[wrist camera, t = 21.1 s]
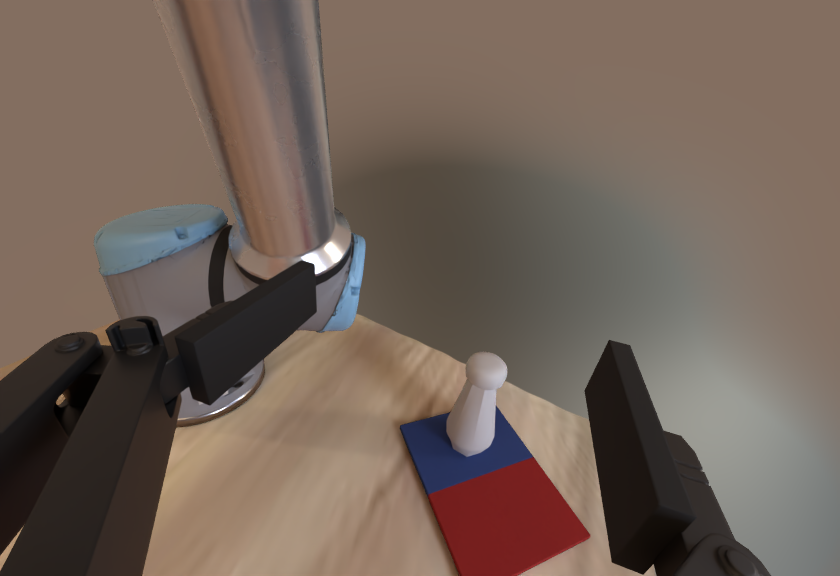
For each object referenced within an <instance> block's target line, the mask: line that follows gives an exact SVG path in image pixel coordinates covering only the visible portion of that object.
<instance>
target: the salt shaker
mask: <svg viewBox="0 0 840 576" xmlns="http://www.w3.org/2000/svg"><path fill="white" fill-rule="evenodd" d="M506 376H507V367H506V364H505V363H504V362H503V361H502V359H501V358H500V357H498V356H496V355H495V354H492V353H489V352H478V353H475V354H473V355H471V357H470V358H469V359H468V361H467V363H466V377H467V378H468V379H467V381H466V383H465V385H464V387H463V389H462V391H461V393H460V395H459V397H458V399H457V401H456V402H455V404H454V406H453V408H452V410H451V412H450V414H449V416H448V418H447V429H446V432H447V434H448V436H449V438H450V440H451V443H452V446H453V449H454V450H456V451H458V452H459V453H461V454H463V455H465V456H466V457H468V456H472V455H475V454H478V453H481V452H482V451H484V450H485V449H487V448H488V447H489V446H490V445H491V443H492V441H493V438H494V435H495V411H496V389H498V388H500V387H501V386H502V385H503V383H504V381H505V379H506Z"/></svg>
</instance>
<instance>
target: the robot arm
mask: <svg viewBox="0 0 840 576" xmlns="http://www.w3.org/2000/svg"><path fill="white" fill-rule="evenodd" d="M153 2H154V4H155V7H156V9H157V12H158V15H159V17H160V20H161V23H162V25H163V28H164V30H165V33H166V35H167V38H168V41H169V44H170V46H171V49H172V51H173V54H174V57H175V59H176V62H177V64H178V67H179V69H180V72H181V75H182V77H183V80H184V83H185V85H186V88H187V91H188V93H189V96H190V98H191V101H192V104H193V106H194V109H195V112H196V114H197V117H198V119H199V122H200V125H201V127H202V129H203V132H204V135H205V138H206V140H207V143H208V145H209V148H210V151H211V153H212V156H213V158H214V161H215V164H216V166H217V169H218V172H219V174H220V177H221V179H222V182H223V185H224V187H225V190H226V192H227V195H228V197H229V200H230V203H231V206H232V208H233V211H234V213H235V216H236V219H237V220H236V221H235V223H234V224H233V226H232V225H228V224H227V222H228V218H227V217H226V215H225V214H224V212H223V211H222V209H220V208H218V207H214V206H211V205H203V204H202V205H201V204H188V205H176V206H167V207H160V208H154V209H149V210H145V211H141V212H136V213H133V214H129V215H126V216H123V217H121V218H118V219H116V220H114V221H111V222H109V223H108V224H106V225H104V226H103V227H102V228H101V229H100V230H99V231H98V232H97V233H96V235H95V238H94V246H95V250H96V254H97V257H98V261H99V264H100V269H99V272H100V273H101V275H102V276H103V279H104V281H105V284H106V286H107V289H108V291H109V294H110V296H111V299H112V301H113V304H114V306H115V309H116V311H117V313H118V316H119V319H120V321H118V322H116V323H114V324H112V325H110V326H109V327H108V328H107V329H106V330H105V331H106V333H107V336H108V338H109V341H110V343H111V345H112V346H105V345H101V344H100V342H99V340H98V337H97V335H95V334H93V333H90V332H77V333H70V334H66V335H63V336H61V337H58V338H56V339H54V340H52V341H50V342H49V343H47V344H46V345H44V346H43V347H42V348H40V349H39V350H38V351H37V352H35V353H34V354H33V355H32V356H31V357H29V358H28V359H27V360H26V361H24V362H23V363H22V364H21V365H19V366H18V367H17V368H16V369H14V370H13V371H12V372H11V373H9V374H8V375H7V376H6V377H4V378H3V379H2V380H1V381H0V555H1V554H2V553H3V551H4V550H5V549H6V547H7V546H8V545H9V544H10V542H11V541H12V540H13V538H14V537H15V536H16V535H17V533H18V532H19V531H20V529H21V528H22V527H23V526H24V527H23V529H22V531H21V533H20V534H19V536H18V538H17V540H16V542H15V544H14V546H13V548H12V550H11V552H10V554H9V556H8V558H7V560H6V562H5V563H4V565H3V567H2V569H1V571H0V576H142V574H143V569H144V565H145V560H146V556H147V552H148V547H149V543H150V538H151V534H152V530H153V525H154V521H155V517H156V512H157V508H158V503H159V499H160V495H161V490H162V486H163V481H164V477H165V473H166V468H167V464H168V459H169V455H170V451H171V446H172V442H173V438H174V433H175V429H176V427H183V426H190V425H196V424H200V423H204V422H207V421H210V420H213V419H216V418H218V417H220V416H223V415H225V414H227V413H229V412H230V411H232V410H234V409H236V408H237V407H239V406H240V405H241V404H243V403H244V402H245V401H247V400H248V399H249V398H250V397H251V396H252V395H253V394H254V393H255V391H256V390H257V389H258V387H259V386H260V384H261V382H262V380H263V377H264V373H265V366H264V358H265V357H266V356H267V355H269V354H270V353H271V352H272V351H273V350H274V349H275V348H277V347H278V346H279V345H280V344H281V343H282V342H283V341H285V340H286V339H287V338H288V337H289V336H290V335H291V334H293V333H294V332H295V331H296V330H308V331H316V332H319V333H322V332H325V331H343V330H346V329H348V328H349V327H350V326H351V325H352V324H353V322H354V319H355V316H356V312H357V307H358V301H359V294H360V291H359V290H360V287H361V282H362V275H363V267H364V257H365V240H364V238H363V237H362V236H359V235H356V234H355V233H351V231H350V226H349V223H348V221H347V219H346V218H345V217H344V216H343V214H342V213H341V212H340V211H339V210H337V209H336V208H335V207H334V200H333V187H332V175H331V161H330V148H329V134H328V122H327V108H326V96H325V82H324V69H323V57H322V43H321V30H320V17H319V3H318V0H153ZM62 393H63V395H64V397H65V400H64V401H63V402H62V403H61V404H60V405H59V406H58V405H57V404H56V403H55V402H56V401H57V399H58V398H59V396H60V395H61V394H62ZM585 396H586V403H587V408H588V415H589V421H590V428H591V434H592V440H593V447H594V453H595V459H596V465H597V472H598V478H599V484H600V490H601V497H602V503H603V509H604V515H605V522H606V528H607V534H608V541H609V547H610V553H611V559H612V563H615V564H617V565H620V566H622V567H625V568H627V569H630V570H633V571H635V572H638V573H640V574H644V573H645V572H646V571H647V570H648V569H649V568H650V567H651V566H652V565H653V564H654V567H655V571H656V575H657V576H771V575H770V574H769V572H768V571H767V569H766V568H765V567H764V565H763V564H762V562H761V561H760V560H759V559H758V558H757V557H756V556H755V555H753V554H752V552H751V551H749V549H747V548H746V547H744V546H743V545H741V544H740V543H739V542H737V541H736V540H735V538H734V536H733V534H732V532H731V530H730V528H729V525H728V523H727V521H726V519H725V517H724V515H723V512H722V510H721V508H720V506H719V503H718V501H717V499H716V497H715V495H714V493H713V490H712V488H711V486H709V482H708V480H707V477H706V475H705V473H704V472H702V467H701V464H700V462H699V460H698V458H697V456H696V453H695V452H694V451H693V449H692V448H691V447H690V446H689V445H688V443H687V442H686V441H685V440H684V439H683V438H682V436H679V435H676V434H673V433H670V432H666V431H663V429H662V426H661V424H660V421H659V419H658V416H657V413H656V411H655V408H654V406H653V403H652V401H651V398H650V395H649V393H648V390H647V388H646V385H645V383H644V380H643V377H642V375H641V372H640V370H639V367H638V364H637V362H636V359H635V357H634V354H633V352H632V349H631V346H630V345H627V344H623V343H619V342H615V341H611V340H609V341H608V343H607V345H606V348H605V349H604V352H603V354H602V356H601V358H600V360H599V362H598V364H597V366H596V368H595V370H594V372H593V375H592V376H591V379H590V380H589V383H588V385H587V387H586V389H585ZM24 524H25V525H24Z"/></svg>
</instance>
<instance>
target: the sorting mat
mask: <svg viewBox="0 0 840 576" xmlns="http://www.w3.org/2000/svg"><path fill="white" fill-rule="evenodd" d="M449 414H450V412H449V413H446V414H442V415H438V416H434V417H430V418H426V419H423V420H419V421H415V422H411V423H407V424H403V425H400V430H401V433H402V435H403V438H404V440H405V442H406V445H407V447H408V450H409V452H410V455H411V457H412V460H413V462H414V465H415V467H416V470H417V472H418V475H419V477H420V479H421V482H422V484H423V487H424V489H425V492H426V494H427V497H428V499H429V502H430V504H431V507H432V509H433V512H434V514H435V516H436V519H437V521H438V524H439V526H440V529H441V531H442V534H443V536H444V539H445V541H446V544H447V546H448V549H449V551H450V553H451V556H452V558H453V561H454V563H455V566H456V568H457V571H458V573H459V576H517V575H519V574H521V573H523V572H525V571H527V570H529V569H531V568H532V567H534V566H536V565H538V564H540V563H542V562H544V561H546V560H548V559H550V558H552V557H554V556H556V555H558V554H560V553H562V552H564V551H566V550H568V549H569V548H571V547H573V546H575V545H577V544H579V543H581V542H583V541H585V540H587V539H589V537H590V534H589V533H588V531H587V530H586V529H585V527H584V526H583V524H582V523H581V522H580V520H579V519H578V518H577V516H576V515H575V513H574V512H573V511H572V509H571V508H570V507H569V505H568V504H567V502H566V501H565V500H564V498H563V497H562V496H561V494H560V493H559V491H558V490H557V489H556V487H555V486H554V485H553V483H552V482H551V480H550V479H549V478H548V476H547V475H546V474H545V472H544V471H543V469H542V468H541V467H540V465H539V464H538V463H537V461H536V460H535V458H534V457H533V456H532V454H531V453H530V452H529V450H528V449H527V447H526V446H525V445H524V443H523V442H522V441H521V439H520V438H519V436H518V435H517V434H516V432H515V431H514V430H513V428H512V427H511V425H510V424H509V423H508V421H507V420H506V419H505V417H504V416H503V414H502V413H501V412H500V410H499V409H498V408H497V406H496V411H495V435H494V438H493V441H492V443H491V445H490V446H489V447H488V448H487V449H485V450H484V451H482V452H481V453H478V454H475V455H472V456H468V457H466V456H465V455H463V454H461V453H459V452H458V451H456V450H454V449H453V446H452V443H451V440H450V438H449V436H448V434H447V432H446V429H447V418H448V416H449Z"/></svg>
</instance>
